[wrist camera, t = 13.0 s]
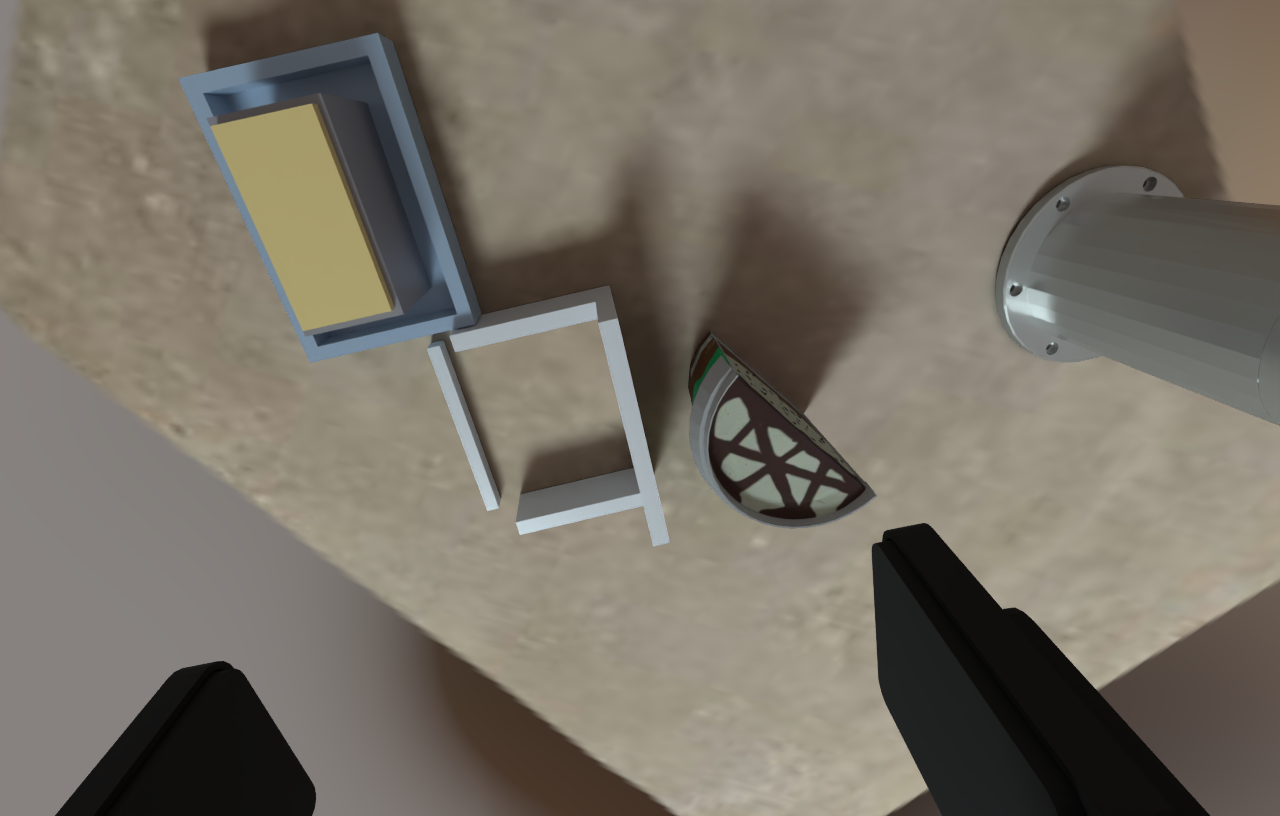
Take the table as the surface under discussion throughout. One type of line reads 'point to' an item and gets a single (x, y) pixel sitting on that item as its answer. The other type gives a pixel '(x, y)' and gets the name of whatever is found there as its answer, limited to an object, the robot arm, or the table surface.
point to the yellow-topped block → (325, 209)
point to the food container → (764, 447)
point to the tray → (380, 82)
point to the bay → (639, 481)
